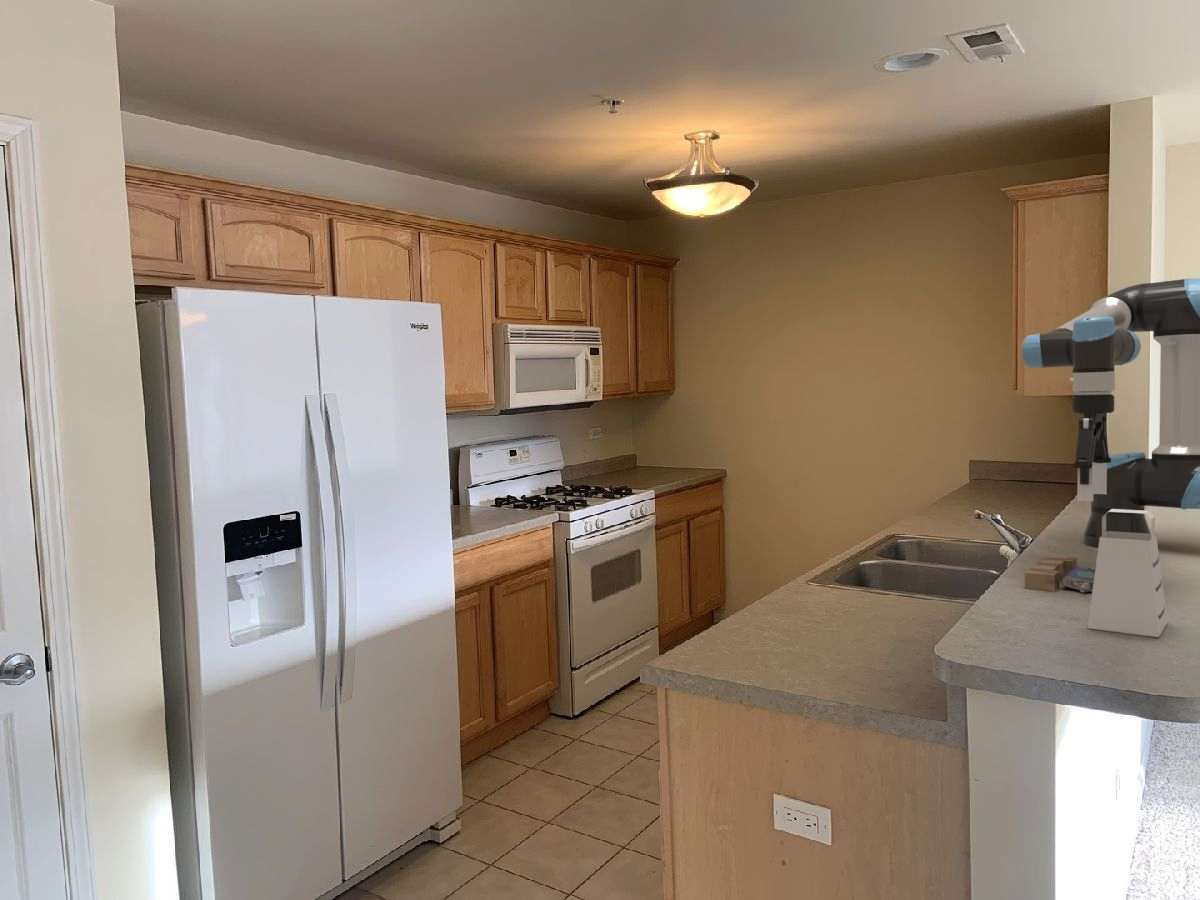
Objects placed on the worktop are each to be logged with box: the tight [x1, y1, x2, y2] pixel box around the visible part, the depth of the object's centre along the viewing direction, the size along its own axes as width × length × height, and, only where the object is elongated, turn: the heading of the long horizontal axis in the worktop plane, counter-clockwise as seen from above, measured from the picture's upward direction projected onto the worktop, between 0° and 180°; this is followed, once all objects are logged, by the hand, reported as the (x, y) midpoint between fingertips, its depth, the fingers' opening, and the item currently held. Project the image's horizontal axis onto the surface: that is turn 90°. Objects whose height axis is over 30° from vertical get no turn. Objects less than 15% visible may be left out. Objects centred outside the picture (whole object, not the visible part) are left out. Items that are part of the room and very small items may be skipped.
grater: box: [1087, 509, 1168, 638], centre depth 153 cm, size 10×10×20 cm
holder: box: [1024, 555, 1078, 593], centre depth 184 cm, size 21×21×4 cm
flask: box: [1060, 565, 1096, 593], centre depth 180 cm, size 9×3×11 cm
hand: (1092, 497), depth 182 cm, fingers open, 13 cm apart
